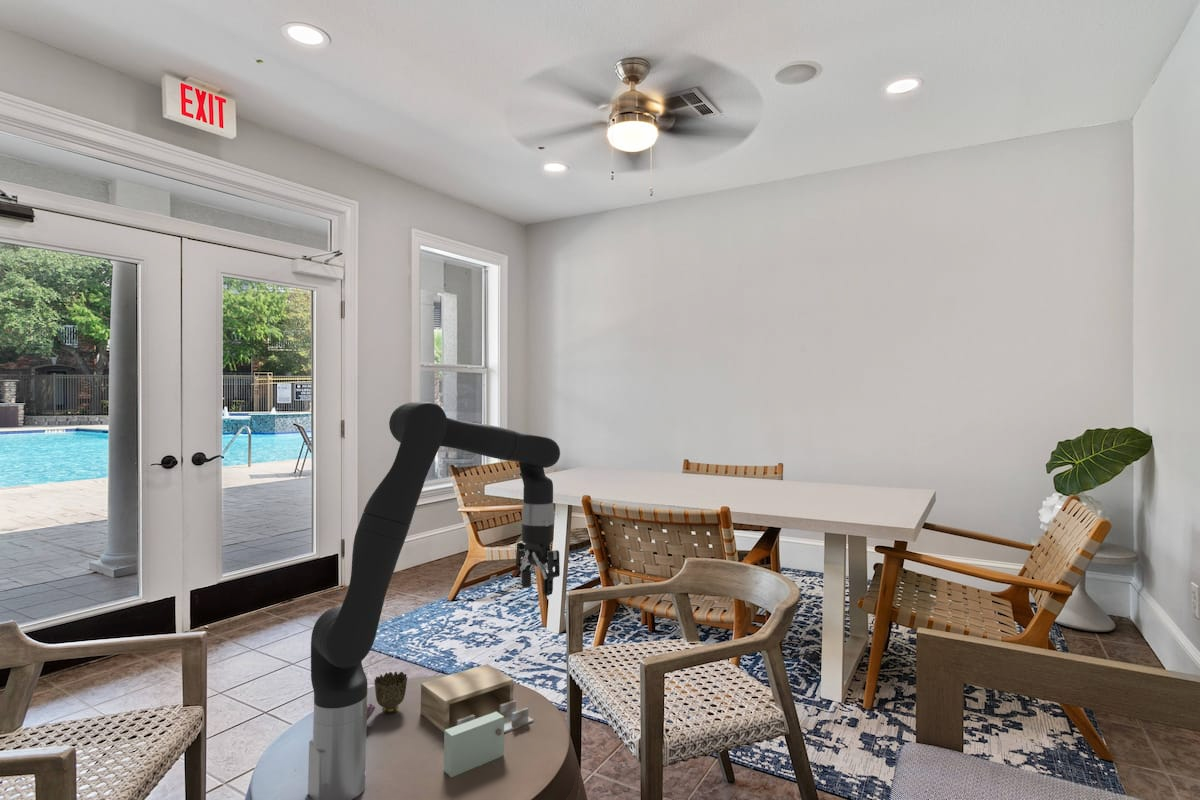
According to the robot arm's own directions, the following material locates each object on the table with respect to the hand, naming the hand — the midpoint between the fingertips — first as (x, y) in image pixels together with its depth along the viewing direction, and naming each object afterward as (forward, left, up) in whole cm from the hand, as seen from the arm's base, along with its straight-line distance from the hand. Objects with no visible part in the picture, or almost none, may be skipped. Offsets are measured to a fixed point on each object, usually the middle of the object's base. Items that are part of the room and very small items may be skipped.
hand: (536, 590), depth 146 cm
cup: (-25, +24, -29) cm, 45 cm away
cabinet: (-11, +8, -29) cm, 32 cm away
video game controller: (-35, +20, -30) cm, 50 cm away
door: (-21, -8, -29) cm, 37 cm away
